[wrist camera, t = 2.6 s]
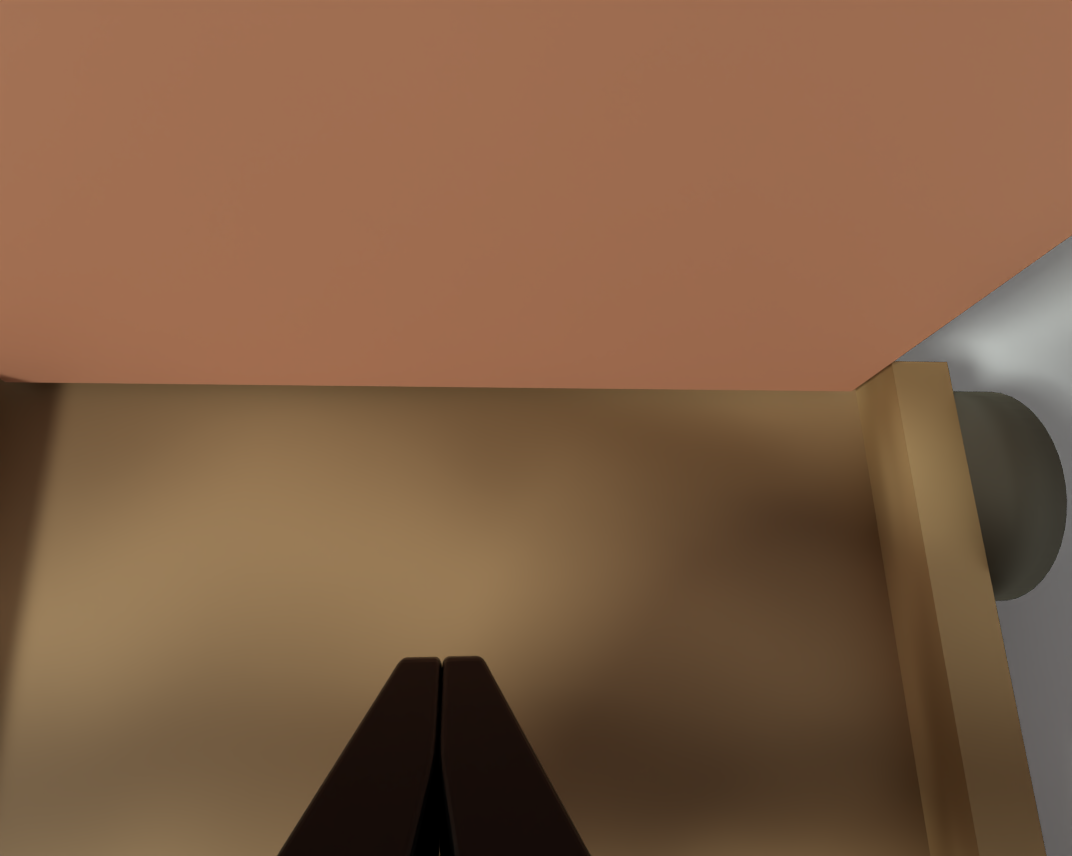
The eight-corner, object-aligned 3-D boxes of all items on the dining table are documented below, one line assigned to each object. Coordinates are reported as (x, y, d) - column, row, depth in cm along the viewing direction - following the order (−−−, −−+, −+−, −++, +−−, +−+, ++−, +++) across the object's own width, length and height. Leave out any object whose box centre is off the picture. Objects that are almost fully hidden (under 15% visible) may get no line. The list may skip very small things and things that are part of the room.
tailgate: (851, 391, 16) (1540, -97, 6) (5, 382, 15) (-1109, -319, 4) (837, 303, 17) (1438, -277, 7) (25, 285, 15) (-905, -532, 5)
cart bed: (1065, 1296, 14) (1325, 1567, 10) (-307, 1452, 12) (-734, 1888, 7) (900, 379, 19) (1022, 299, 15) (-59, 366, 17) (-227, 269, 13)
